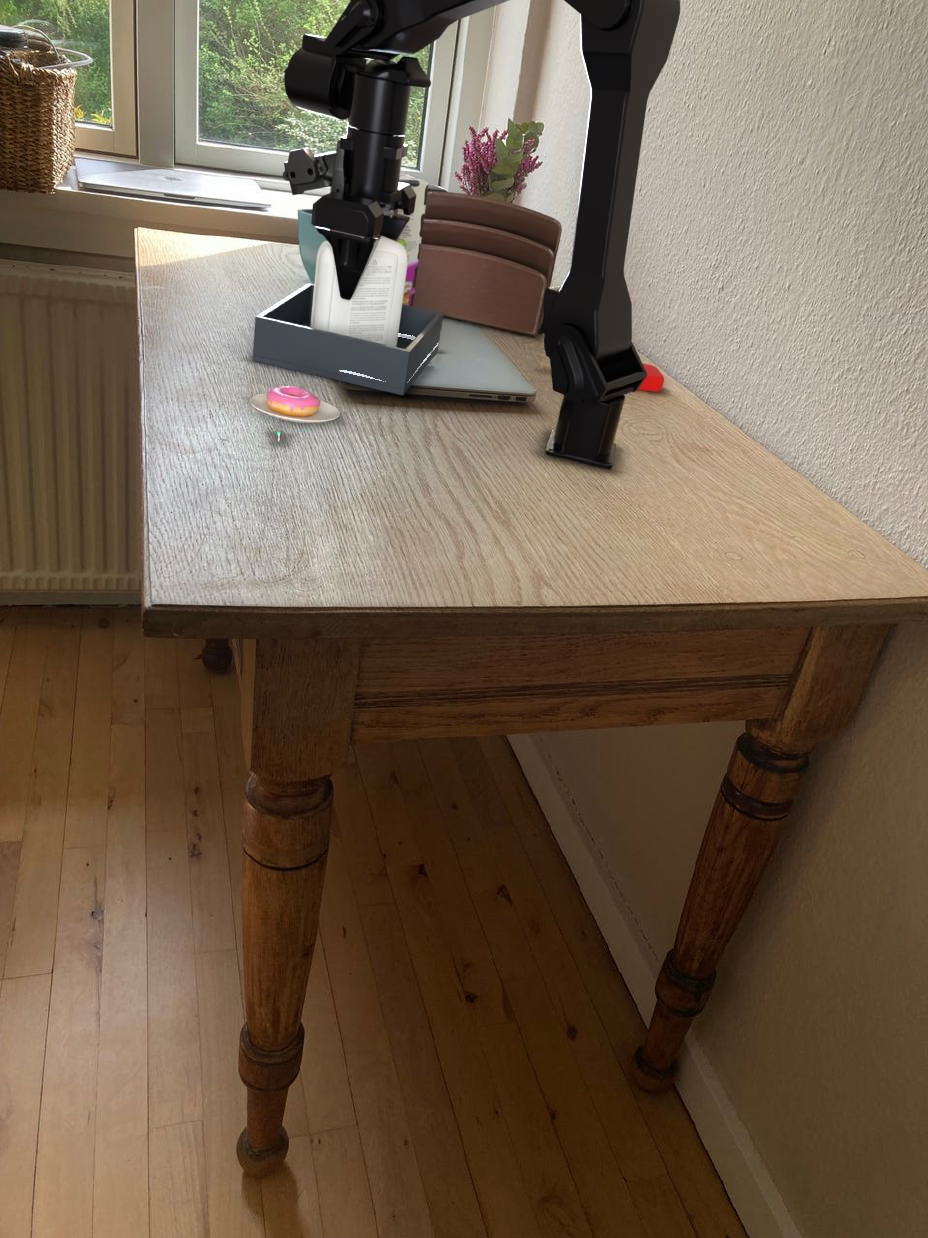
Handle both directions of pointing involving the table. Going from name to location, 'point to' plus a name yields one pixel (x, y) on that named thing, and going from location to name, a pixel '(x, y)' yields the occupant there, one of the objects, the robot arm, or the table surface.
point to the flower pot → (308, 241)
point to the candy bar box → (413, 234)
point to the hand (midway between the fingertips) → (357, 289)
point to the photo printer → (362, 295)
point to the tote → (344, 345)
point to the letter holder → (485, 261)
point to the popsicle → (650, 383)
